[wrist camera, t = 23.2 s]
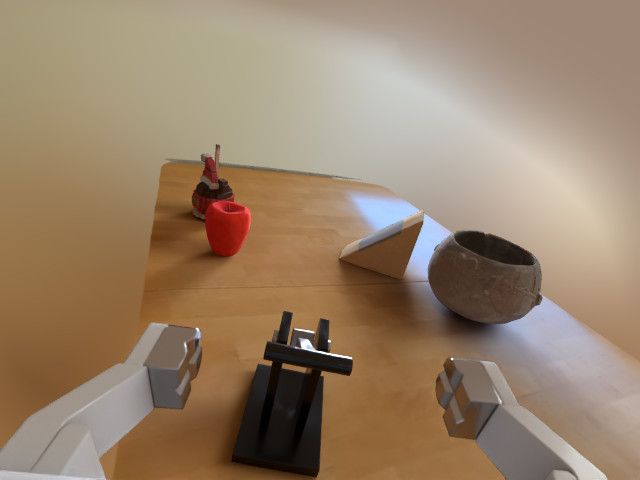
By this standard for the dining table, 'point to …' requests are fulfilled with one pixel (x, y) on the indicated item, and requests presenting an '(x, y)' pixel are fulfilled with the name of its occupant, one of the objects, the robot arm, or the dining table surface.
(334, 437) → the dining table surface
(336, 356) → the lever
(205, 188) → the cake
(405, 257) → the sandwich container
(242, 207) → the apple
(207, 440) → the dining table surface
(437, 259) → the clay pot
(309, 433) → the bracket
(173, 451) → the dining table surface
